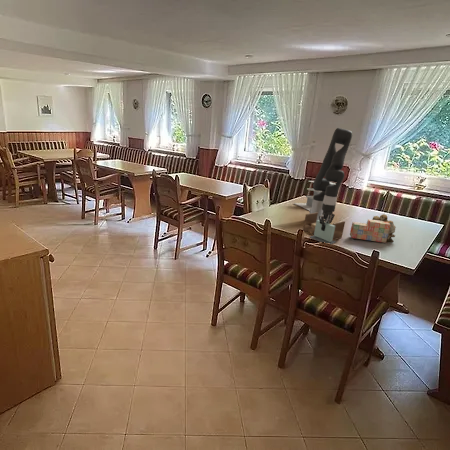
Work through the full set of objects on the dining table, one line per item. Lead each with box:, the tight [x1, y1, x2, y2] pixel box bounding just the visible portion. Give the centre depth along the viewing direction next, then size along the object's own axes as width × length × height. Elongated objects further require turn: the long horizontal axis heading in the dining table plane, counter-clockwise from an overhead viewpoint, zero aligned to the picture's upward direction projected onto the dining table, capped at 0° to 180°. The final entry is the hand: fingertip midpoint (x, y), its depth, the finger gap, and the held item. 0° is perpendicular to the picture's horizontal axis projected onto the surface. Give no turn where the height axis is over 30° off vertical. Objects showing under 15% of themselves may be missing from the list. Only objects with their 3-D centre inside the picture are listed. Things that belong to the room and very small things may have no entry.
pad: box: [308, 235, 337, 245], centre depth 205 cm, size 14×8×1 cm, turn 39°
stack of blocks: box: [349, 218, 390, 243], centre depth 210 cm, size 21×6×12 cm, turn 80°
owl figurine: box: [371, 213, 397, 244], centre depth 214 cm, size 18×12×17 cm, turn 61°
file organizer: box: [293, 180, 336, 212], centre depth 290 cm, size 26×35×22 cm
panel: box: [313, 220, 335, 242], centre depth 203 cm, size 12×2×10 cm, turn 39°
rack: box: [302, 212, 346, 241], centre depth 216 cm, size 22×12×11 cm, turn 39°
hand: (324, 230), depth 203 cm, fingers closed on panel, 2 cm apart
